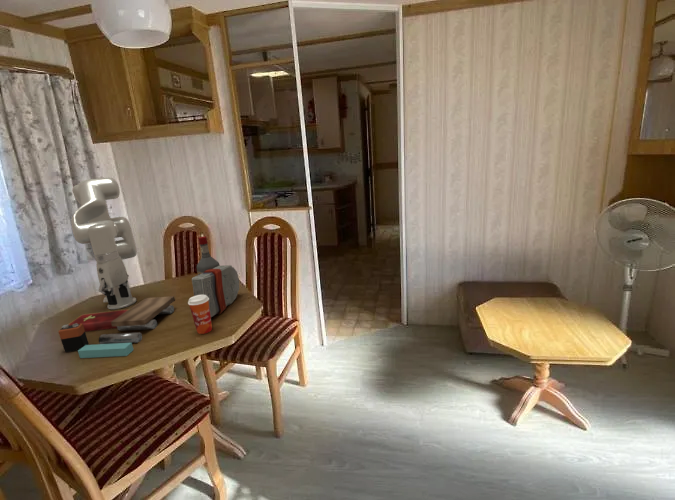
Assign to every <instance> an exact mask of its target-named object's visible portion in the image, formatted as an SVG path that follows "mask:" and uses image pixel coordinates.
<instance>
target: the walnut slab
mask: <svg viewBox="0 0 675 500" xmlns="http://www.w3.org/2000/svg"><path fill="white" fill-rule="evenodd" d="M175 301H176V298H175V295H173V296H158V297H157V296H156V297H144V299H142V300H140V301H139V302H138V303H136V304H135V305H133V306H132V307H131V308H128V309H129V310H128V311H126V312H125V313H123V314H122V315H120V316H119V317H117V318H116V319H115V320H113V321H112V322H111V324H112V327H113V326H131V325H145V324H147V323H148V322H149V321H150V320H154V318H156V317H157V315H158V314H159V313H160V312H161V311H163V310H164V309H165V308H166V307H167V306H169V305H172V304H173V302H175ZM159 315H160V314H159Z"/></svg>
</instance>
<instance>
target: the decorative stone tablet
mask: <svg viewBox="0 0 675 500" xmlns="http://www.w3.org/2000/svg"><path fill="white" fill-rule="evenodd" d="M191 283H192V289H193V290H192V291H193V296H196V295H206V296H208V298H209V300H208V302H209V309H210V316H211V318H212V317H214V316H215V315H221V314H222V313H223V312H224V311H225V310H227V306H230V305H231V304H233V302H234V301H235V300H236V299H237V297H238V293H239V290H240V277H239V274H238V271H237V270H236V269H235V267H234V266H232V265H220V266H217V267H215V268H213V269H209V270H206V271H204V272H203V273H202V274H200V275H198V274H197V275H195V276H193V277H192V278H191Z"/></svg>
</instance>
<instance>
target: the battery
mask: <svg viewBox="0 0 675 500" xmlns="http://www.w3.org/2000/svg"><path fill="white" fill-rule="evenodd" d="M57 333H58V335H59V338H60V341H61V344H62V348H63V350H64V352H65V353H71V352H76V351H77V352H78V350H80V349H81V348H82V347H84V346H85V345H90V344H89V339H88V337H87V334H86V333H87V332H85V330H84V326H83V324H82V323H81V324H77V323H76V324H73V325H68V324H64V325H62V326H61V328H60V329H59V330H58V332H57Z"/></svg>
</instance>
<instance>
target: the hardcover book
mask: <svg viewBox="0 0 675 500" xmlns="http://www.w3.org/2000/svg"><path fill="white" fill-rule="evenodd" d="M129 309H130V308H127V309H125V308H124V309H115V310H111V311H110V310H108V311H101V312H99V311H98V312H91V313H90V312H89V313H85V314H80V315H79V316H77V317H76V318H75V319H74V320H72V321H70V322H69V323H68V324H67V325H73V324H76V323H77V324H81V323H82V324H83V326H84V330H85V333H89V332H95V331H103V330H105V331H106V330H112V329H113V330H114V329H117V326H113V327H112V324H111V322H112V321H113V320H115V319H116V318H117V317H119V316H120V315H122V314H123V313H125V312H126V311H128V310H129Z"/></svg>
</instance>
